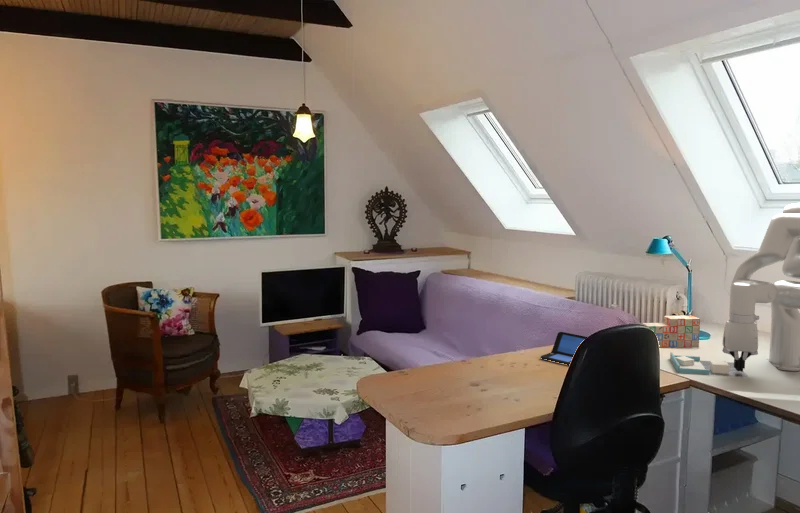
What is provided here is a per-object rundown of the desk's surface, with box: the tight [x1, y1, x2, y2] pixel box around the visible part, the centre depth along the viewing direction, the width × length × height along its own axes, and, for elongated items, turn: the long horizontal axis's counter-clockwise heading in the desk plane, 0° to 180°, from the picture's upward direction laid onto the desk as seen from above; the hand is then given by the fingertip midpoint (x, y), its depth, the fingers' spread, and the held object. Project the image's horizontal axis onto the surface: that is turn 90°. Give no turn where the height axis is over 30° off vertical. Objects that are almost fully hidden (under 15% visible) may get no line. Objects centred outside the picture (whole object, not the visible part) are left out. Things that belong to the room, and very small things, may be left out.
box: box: [669, 352, 710, 376], centre depth 211 cm, size 10×17×4 cm, turn 163°
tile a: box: [675, 355, 695, 367], centre depth 215 cm, size 5×4×3 cm
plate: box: [699, 360, 749, 378], centre depth 208 cm, size 12×17×2 cm
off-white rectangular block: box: [709, 360, 729, 374], centre depth 205 cm, size 5×4×3 cm
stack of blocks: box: [641, 315, 701, 349], centre depth 244 cm, size 21×6×12 cm, turn 89°
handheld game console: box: [540, 331, 588, 367], centre depth 227 cm, size 16×13×9 cm
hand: (739, 370), depth 203 cm, fingers closed
